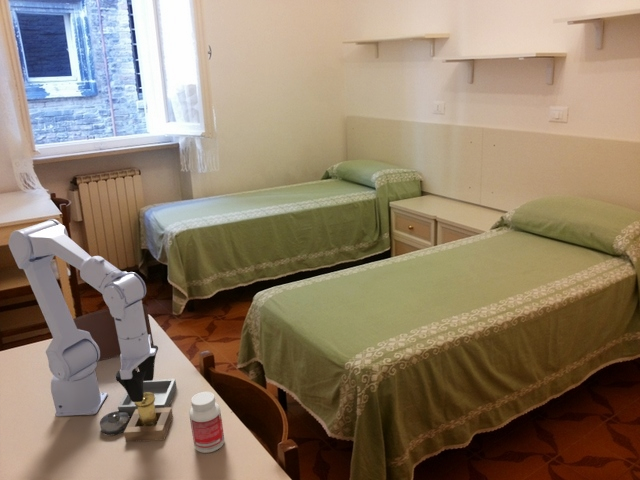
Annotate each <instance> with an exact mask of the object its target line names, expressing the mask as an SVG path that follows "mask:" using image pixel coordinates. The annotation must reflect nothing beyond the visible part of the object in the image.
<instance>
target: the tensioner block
mask: <svg viewBox="0 0 640 480" xmlns="http://www.w3.org/2000/svg"><path fill="white" fill-rule="evenodd" d="M155 412H156V417H157V425H156V426H141V423H140V418H139V413H138V409H135V411H134V413H133V415H132V416H130V417H131V418H129V420H130V421H129V423H128V425H127V427H126V429H125V431H123V434H124V435H123V436H124V440H125V443H129V442H130V443H131V442H147V441H148V442H151V441H164V440H165V437H166V435H167V433H168V430H169V428H170V425H171V422H172V419H173V418H174V414H173V407H171V406H169V407H167V408H155Z"/></svg>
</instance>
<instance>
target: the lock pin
mask: <svg viewBox="0 0 640 480" xmlns="http://www.w3.org/2000/svg"><path fill="white" fill-rule="evenodd" d="M154 401H155V395H154V394H153V393H150V392H146V393H143V400H142V402H135V405H136V406H137V407H138V413H139V418H140V423H141V426H156V425H157V417H156V412H155V406H154Z"/></svg>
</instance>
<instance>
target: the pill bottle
mask: <svg viewBox="0 0 640 480" xmlns="http://www.w3.org/2000/svg"><path fill="white" fill-rule="evenodd" d="M190 401H191V407H190V410H189V412H188V413H189V414H188V415H189V420H190V428H191V433H192V440H193V446H194V448H195V449H196V451H198V452H200V453H203V454H204V453H205V454H206V453H212V452H216V451H218V449H220V448H221V447H223V445H224V443H225V434H224V427H223V419H222V413H221V407H220V405H219V404H218V402H216V397H215V394H214V393H213V392H211V391H202V392H198V393H196V394H194V395H193V396H192V397H191V399H190Z"/></svg>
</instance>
